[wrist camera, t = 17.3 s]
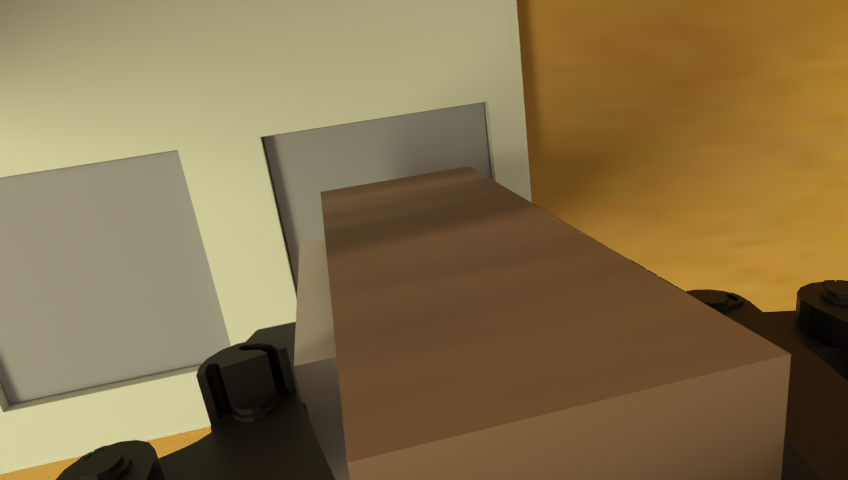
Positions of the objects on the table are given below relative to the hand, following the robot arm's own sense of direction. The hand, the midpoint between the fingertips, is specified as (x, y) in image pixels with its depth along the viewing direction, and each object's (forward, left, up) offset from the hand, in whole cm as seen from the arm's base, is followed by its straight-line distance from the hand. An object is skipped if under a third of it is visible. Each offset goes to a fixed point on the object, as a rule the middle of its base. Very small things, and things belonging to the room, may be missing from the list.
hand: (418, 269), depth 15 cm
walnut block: (0, 0, -2) cm, 2 cm away
